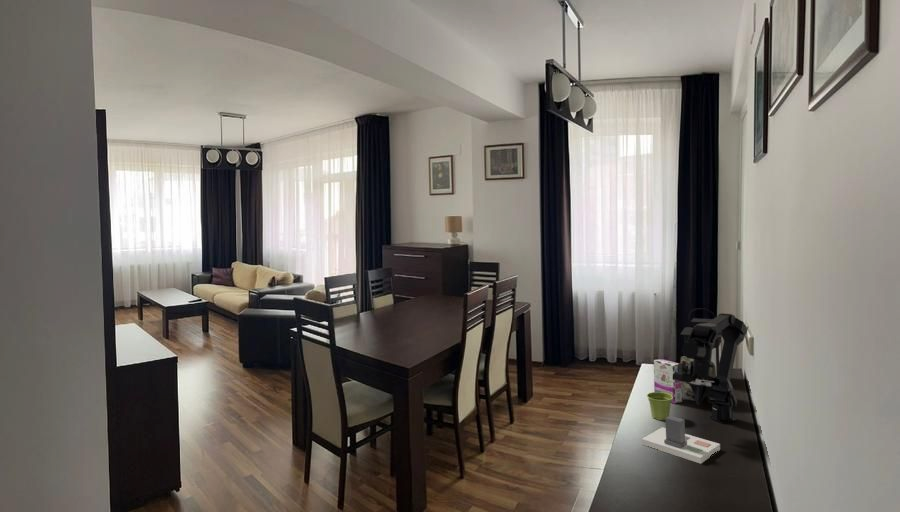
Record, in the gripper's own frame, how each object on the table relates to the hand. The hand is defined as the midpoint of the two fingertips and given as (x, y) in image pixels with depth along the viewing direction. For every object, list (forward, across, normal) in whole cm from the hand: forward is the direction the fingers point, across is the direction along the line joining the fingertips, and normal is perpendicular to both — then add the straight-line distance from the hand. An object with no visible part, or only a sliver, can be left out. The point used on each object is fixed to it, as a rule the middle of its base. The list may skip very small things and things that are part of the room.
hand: (697, 404), depth 177 cm
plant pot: (+10, 0, -20) cm, 22 cm away
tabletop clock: (+2, -26, -32) cm, 42 cm away
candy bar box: (+4, -14, -36) cm, 39 cm away
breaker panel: (+14, +9, +5) cm, 18 cm away
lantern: (-5, -44, -53) cm, 69 cm away
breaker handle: (+13, +12, +6) cm, 19 cm away
